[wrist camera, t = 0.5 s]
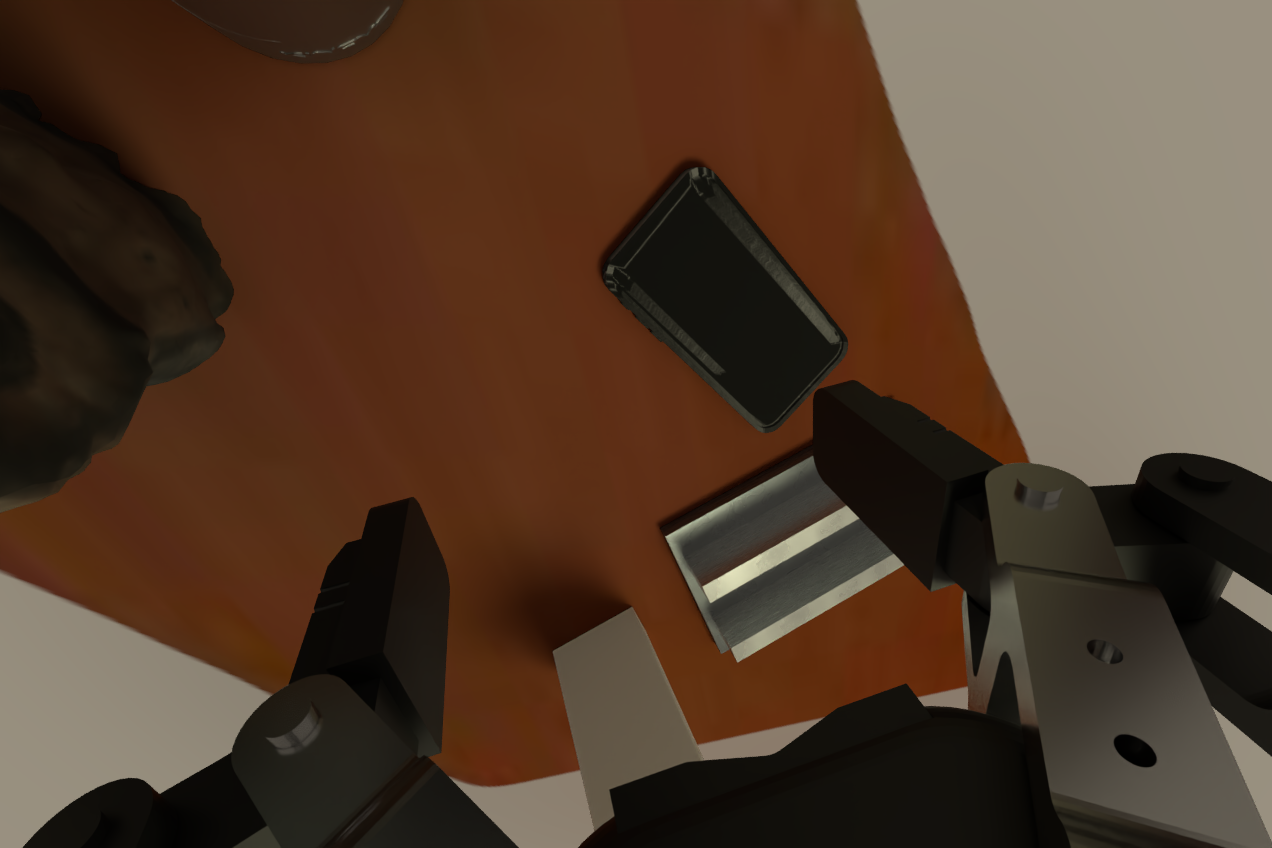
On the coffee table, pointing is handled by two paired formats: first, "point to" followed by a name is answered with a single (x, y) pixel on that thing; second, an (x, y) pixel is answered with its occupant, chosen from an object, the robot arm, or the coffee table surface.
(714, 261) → the phone
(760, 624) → the floor track
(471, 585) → the coffee table surface
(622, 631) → the door leaf
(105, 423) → the owl
